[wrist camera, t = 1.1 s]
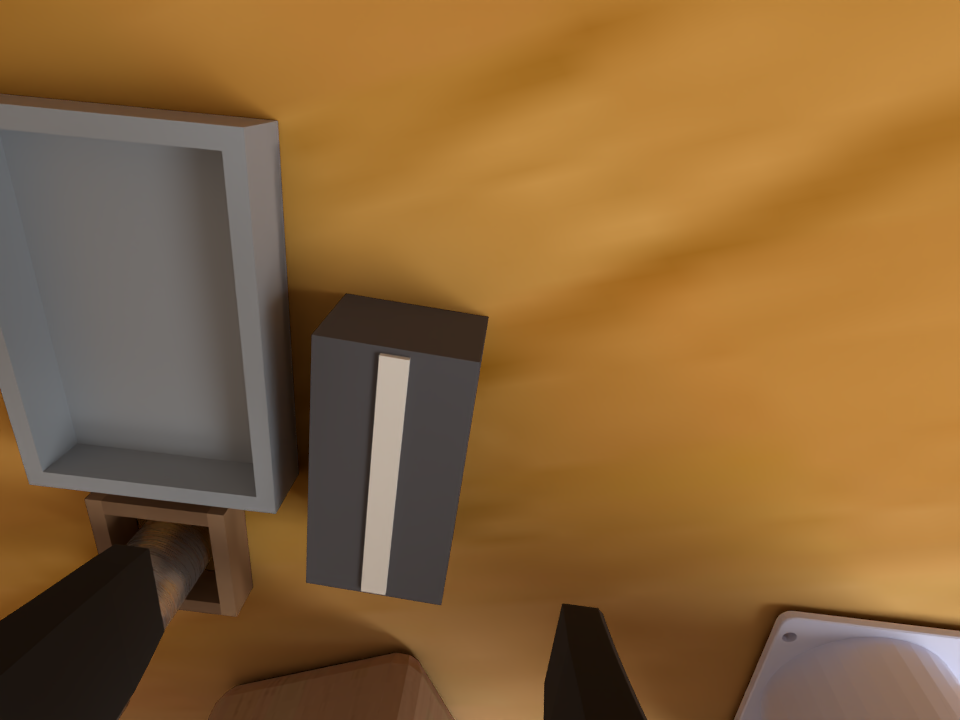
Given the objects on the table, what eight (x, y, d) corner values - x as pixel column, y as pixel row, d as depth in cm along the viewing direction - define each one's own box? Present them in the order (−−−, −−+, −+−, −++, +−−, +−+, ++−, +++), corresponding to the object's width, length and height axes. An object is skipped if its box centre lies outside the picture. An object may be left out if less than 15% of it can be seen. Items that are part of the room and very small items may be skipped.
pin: (232, 569, 24) (127, 744, 18) (149, 559, 24) (16, 729, 18) (223, 502, 23) (105, 668, 16) (135, 492, 23) (-15, 652, 17)
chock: (453, 531, 23) (440, 609, 20) (336, 512, 23) (304, 586, 20) (488, 314, 19) (480, 364, 16) (348, 290, 19) (309, 336, 16)
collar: (253, 586, 25) (236, 616, 23) (133, 572, 25) (110, 601, 23) (241, 488, 22) (223, 515, 21) (110, 473, 23) (84, 499, 21)
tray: (298, 473, 22) (275, 513, 20) (74, 447, 22) (29, 484, 20) (277, 120, 17) (243, 127, 15) (-17, 92, 17) (-89, 94, 15)
